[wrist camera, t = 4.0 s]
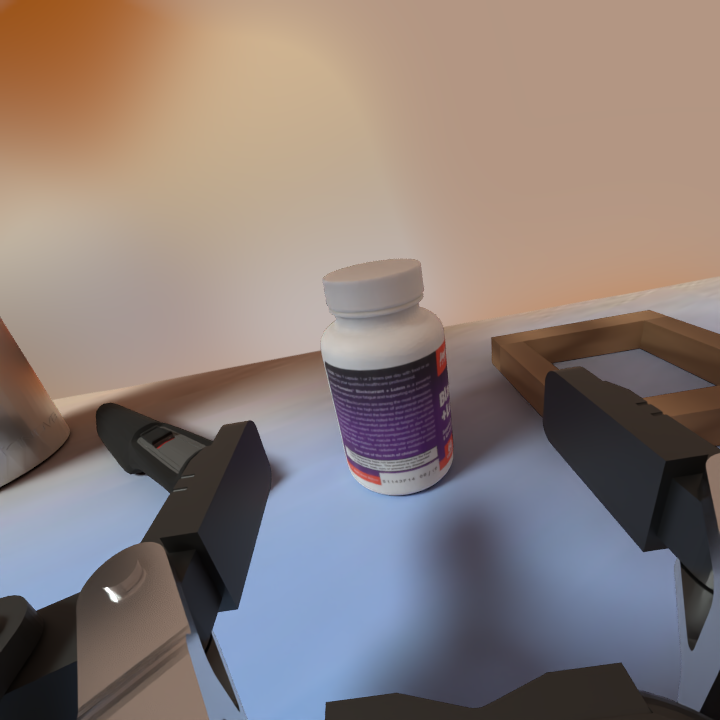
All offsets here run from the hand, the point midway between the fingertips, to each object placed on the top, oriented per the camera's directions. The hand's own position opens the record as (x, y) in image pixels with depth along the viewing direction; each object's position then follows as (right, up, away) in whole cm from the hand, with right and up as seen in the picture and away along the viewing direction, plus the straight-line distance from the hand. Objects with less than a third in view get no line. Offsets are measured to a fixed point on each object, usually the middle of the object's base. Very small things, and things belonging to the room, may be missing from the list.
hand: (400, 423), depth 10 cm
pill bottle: (+1, -3, +8) cm, 9 cm away
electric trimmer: (-13, -5, +11) cm, 18 cm away
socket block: (+14, 0, +10) cm, 18 cm away
